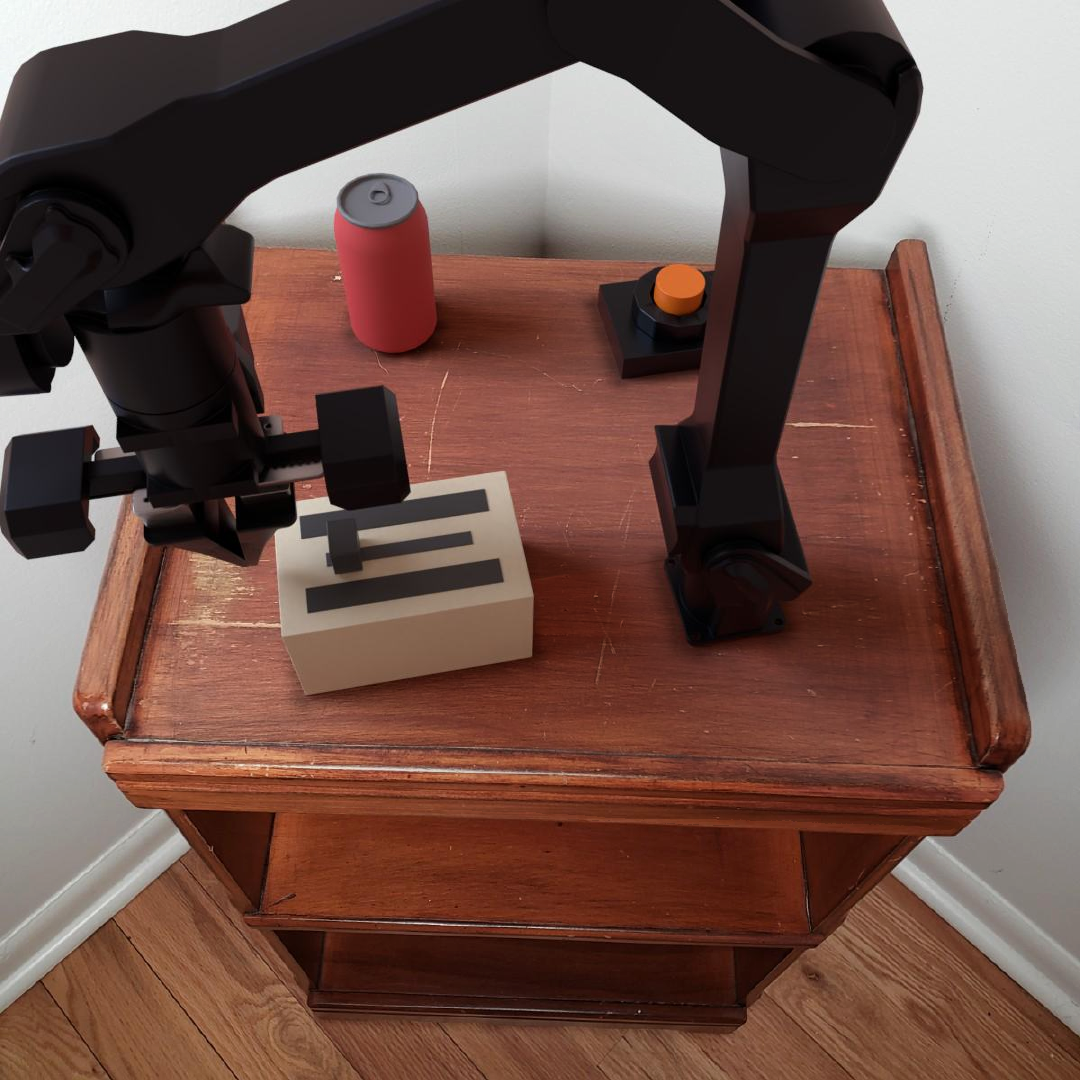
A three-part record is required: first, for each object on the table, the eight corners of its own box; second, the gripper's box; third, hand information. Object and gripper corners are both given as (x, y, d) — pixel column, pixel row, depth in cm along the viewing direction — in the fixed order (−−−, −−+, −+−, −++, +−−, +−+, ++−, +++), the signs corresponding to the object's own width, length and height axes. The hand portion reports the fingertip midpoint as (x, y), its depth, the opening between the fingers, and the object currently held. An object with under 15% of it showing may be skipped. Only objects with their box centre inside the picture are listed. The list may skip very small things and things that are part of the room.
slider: (363, 570, 57) (358, 551, 56) (334, 575, 57) (329, 556, 55) (359, 536, 59) (354, 516, 57) (331, 540, 58) (325, 520, 57)
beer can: (440, 297, 80) (430, 168, 70) (434, 359, 77) (422, 232, 67) (357, 295, 80) (335, 165, 70) (347, 356, 77) (322, 228, 67)
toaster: (532, 657, 63) (534, 595, 57) (305, 695, 61) (281, 636, 55) (506, 538, 68) (505, 469, 62) (295, 571, 66) (272, 503, 60)
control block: (748, 362, 77) (759, 324, 74) (621, 379, 76) (626, 341, 73) (718, 290, 82) (726, 250, 78) (597, 305, 80) (600, 266, 77)
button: (707, 312, 75) (711, 294, 74) (660, 318, 75) (663, 300, 73) (694, 279, 77) (697, 261, 76) (648, 285, 77) (650, 267, 75)
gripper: (367, 215, 49) (400, 425, 62) (-41, 263, 46) (83, 470, 60) (394, 387, 43) (424, 579, 56) (-72, 452, 40) (73, 635, 54)
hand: (250, 559), depth 56 cm, fingers closed
